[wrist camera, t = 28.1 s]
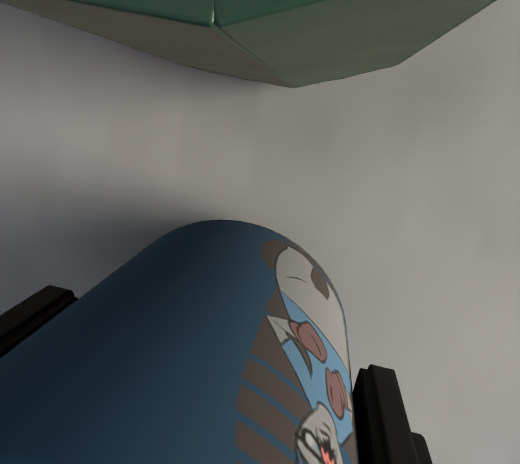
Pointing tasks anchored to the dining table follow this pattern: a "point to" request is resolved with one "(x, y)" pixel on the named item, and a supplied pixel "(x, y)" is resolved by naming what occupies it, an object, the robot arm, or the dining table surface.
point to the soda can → (189, 361)
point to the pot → (267, 32)
